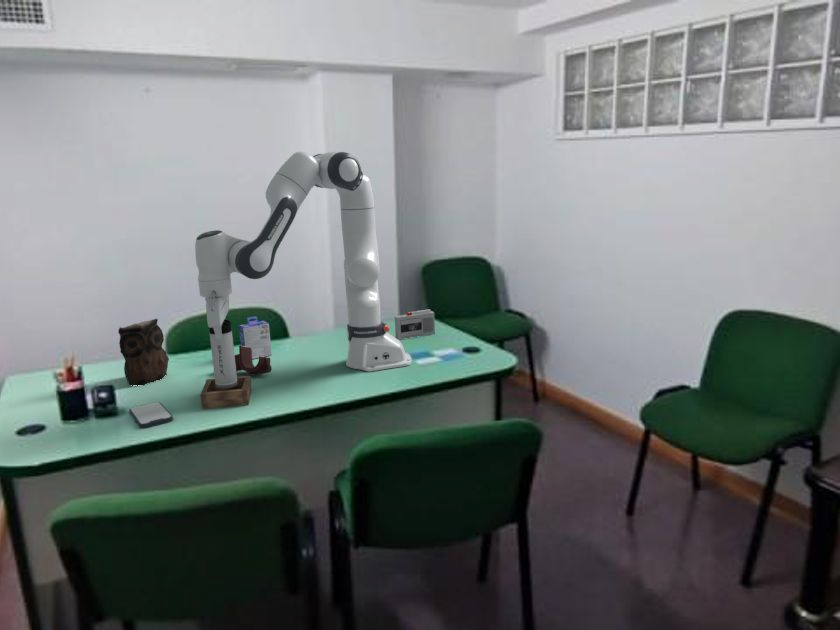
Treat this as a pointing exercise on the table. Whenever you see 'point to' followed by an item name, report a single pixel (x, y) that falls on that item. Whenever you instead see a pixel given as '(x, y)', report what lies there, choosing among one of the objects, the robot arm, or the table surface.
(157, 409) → the phone case
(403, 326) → the cassette player
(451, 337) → the table surface
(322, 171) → the robot arm
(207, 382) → the wooden caddy
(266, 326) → the ink cartridge box
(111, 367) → the table surface
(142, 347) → the owl
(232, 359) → the travel mug
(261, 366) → the bracket
